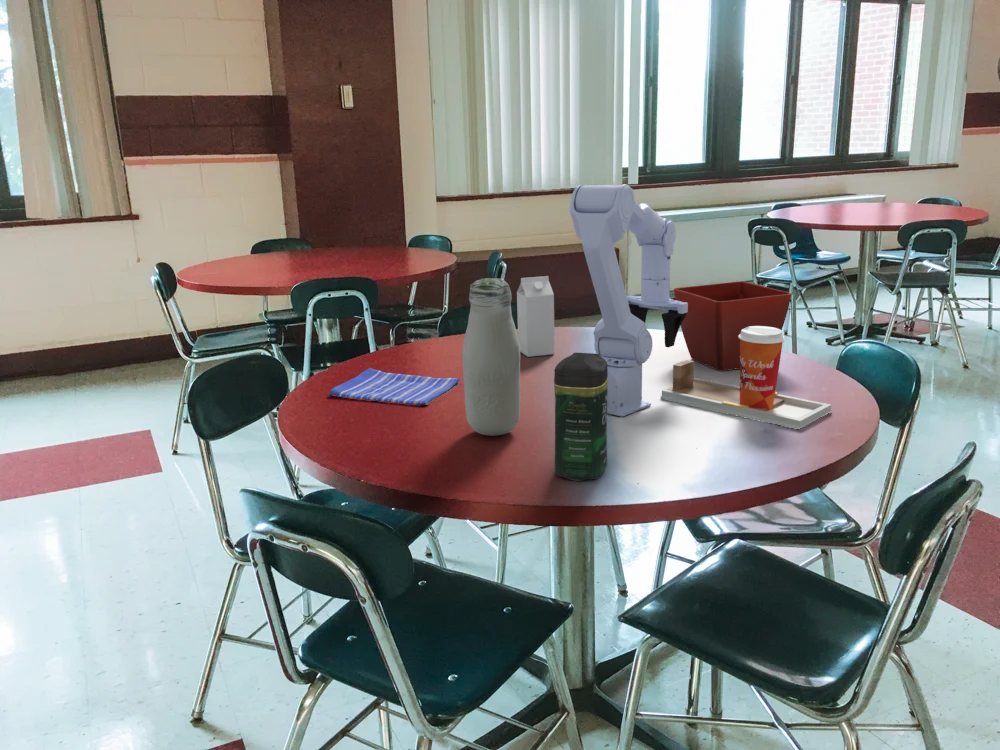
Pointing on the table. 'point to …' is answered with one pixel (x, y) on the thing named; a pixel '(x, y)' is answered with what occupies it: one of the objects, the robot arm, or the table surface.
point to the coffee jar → (581, 416)
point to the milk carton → (535, 316)
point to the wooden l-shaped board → (704, 386)
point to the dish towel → (394, 387)
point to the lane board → (785, 414)
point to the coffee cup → (759, 365)
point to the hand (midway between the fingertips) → (654, 343)
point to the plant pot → (727, 318)
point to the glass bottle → (491, 360)
